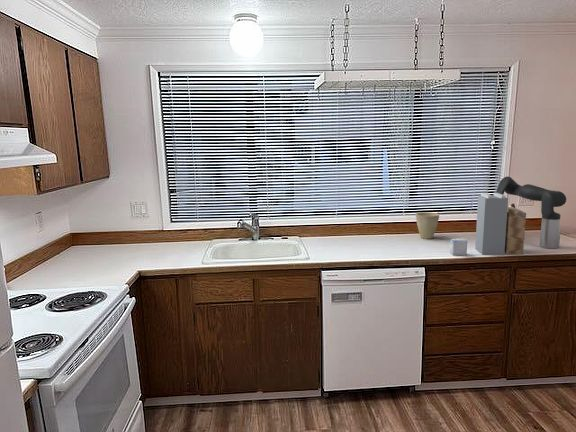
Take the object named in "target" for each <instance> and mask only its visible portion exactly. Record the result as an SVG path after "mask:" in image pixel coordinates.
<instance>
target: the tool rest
mask: <svg viewBox="0 0 576 432" xmlns="http://www.w3.org/2000/svg"><path fill="white" fill-rule="evenodd" d="M523 213H524V214H525V216H524V217H523V218H521V217H519V218H516V217H514V216H511V213H510V212H507V222H506V236H505V250H504V255H524V249H525V248H524V246H525V233H526V222H527V219H526V218H527V213H526V212H524V211H523Z"/></svg>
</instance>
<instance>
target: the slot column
mask: <svg viewBox="0 0 576 432" xmlns="http://www.w3.org/2000/svg"><path fill="white" fill-rule="evenodd" d="M477 198H478V199H477V212H476V213H477V214H476V228H475V229H476V230H475V246H474V247H475V248H474V249H475V250H476V251H477V252H478V253H480V254H481V255H501V256H502V255H505V253H504V250H505V236H506V222H507V208H508V206H509V198H508V197H506V195H505V194H504V195H502V194H499V193H496V192H493V195H491V194H489V193H486V192H480V195H478V196H477Z"/></svg>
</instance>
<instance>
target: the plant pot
mask: <svg viewBox="0 0 576 432" xmlns="http://www.w3.org/2000/svg"><path fill="white" fill-rule="evenodd" d="M415 219H416V225H417V229H418V230H417V231H418V233H419V236H420V238H421V239H424V240H431V239H433V238H434V237H435V233H436V230H437V226H438V224H439V219H440V214H439V213H436V212H427V211H426V212H417V213H415Z"/></svg>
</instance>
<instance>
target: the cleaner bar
mask: <svg viewBox="0 0 576 432" xmlns="http://www.w3.org/2000/svg"><path fill="white" fill-rule="evenodd" d="M507 212H510V213H511V216H514V217H516V218H519V217H521V218H523V217H524V216H525V214H524V213H523V212H524V210H520V209H518V208H516V207H515V208H514V207H511V206H510V205H508V208H507Z"/></svg>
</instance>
